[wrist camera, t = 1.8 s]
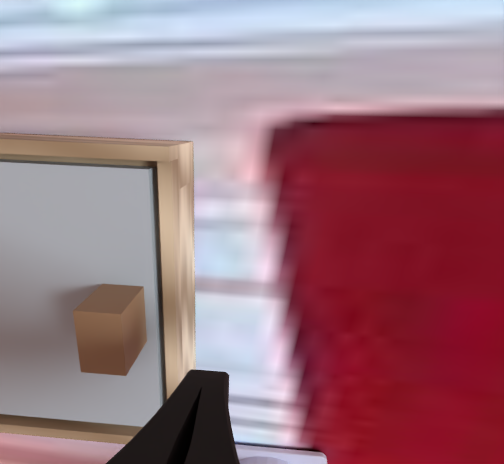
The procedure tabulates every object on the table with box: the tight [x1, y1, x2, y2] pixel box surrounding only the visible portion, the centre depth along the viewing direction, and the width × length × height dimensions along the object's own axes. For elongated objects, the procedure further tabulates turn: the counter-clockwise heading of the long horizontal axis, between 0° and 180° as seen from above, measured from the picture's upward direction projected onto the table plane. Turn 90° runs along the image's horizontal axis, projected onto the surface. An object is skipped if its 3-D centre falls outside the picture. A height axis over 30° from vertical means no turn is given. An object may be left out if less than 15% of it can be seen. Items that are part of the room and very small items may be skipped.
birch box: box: [0, 133, 196, 444], centre depth 19 cm, size 16×14×4 cm
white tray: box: [0, 159, 166, 427], centre depth 16 cm, size 14×13×4 cm
